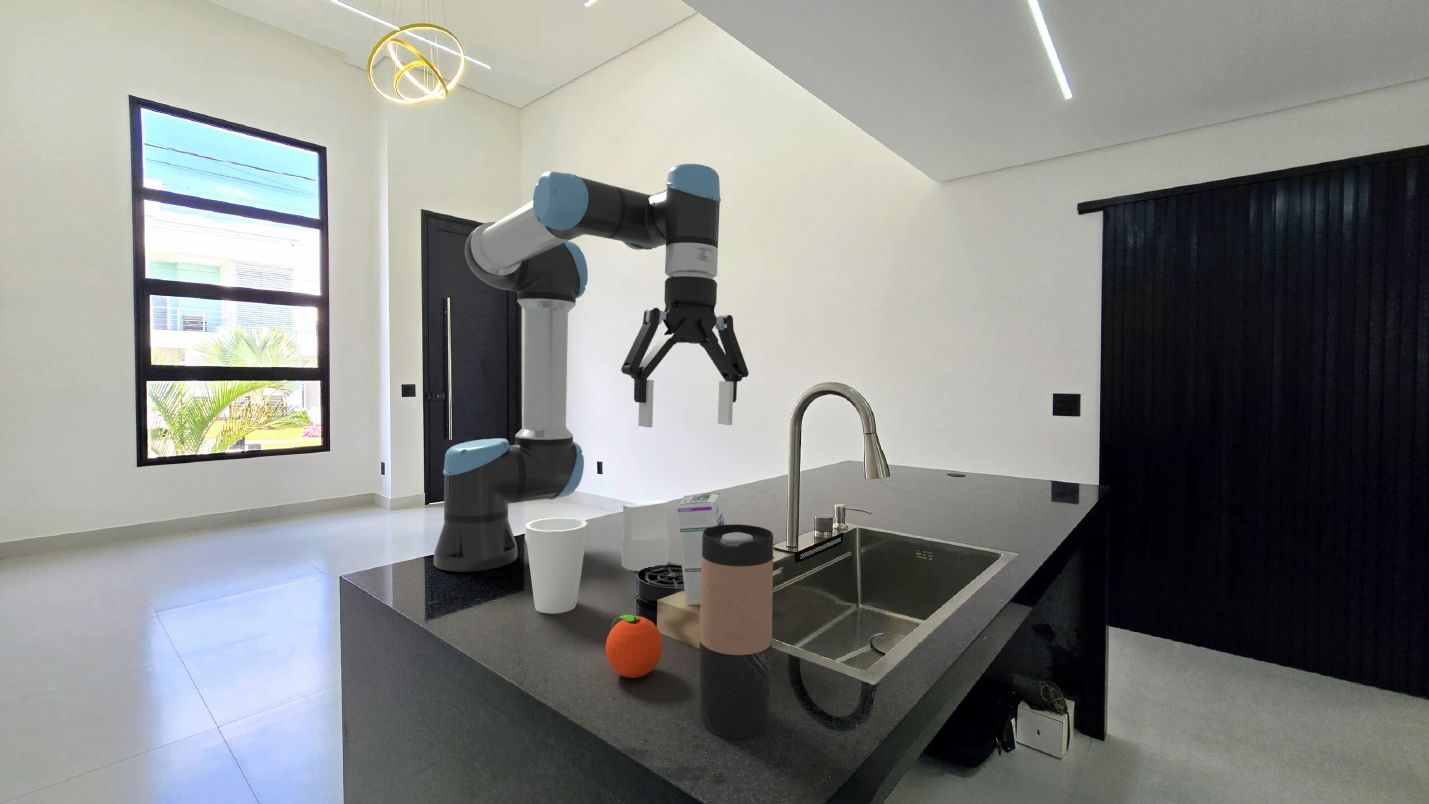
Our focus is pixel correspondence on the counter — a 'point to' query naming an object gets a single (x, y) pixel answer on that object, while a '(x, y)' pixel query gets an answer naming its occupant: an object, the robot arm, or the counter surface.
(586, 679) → the counter surface
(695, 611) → the oak block
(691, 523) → the syrup box
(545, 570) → the foam cup
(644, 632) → the clementine
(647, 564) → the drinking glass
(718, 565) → the travel mug
